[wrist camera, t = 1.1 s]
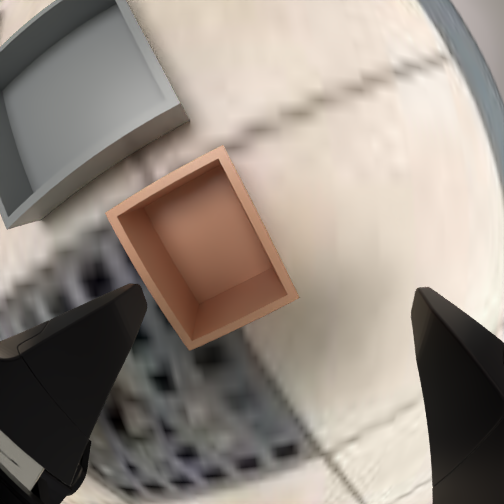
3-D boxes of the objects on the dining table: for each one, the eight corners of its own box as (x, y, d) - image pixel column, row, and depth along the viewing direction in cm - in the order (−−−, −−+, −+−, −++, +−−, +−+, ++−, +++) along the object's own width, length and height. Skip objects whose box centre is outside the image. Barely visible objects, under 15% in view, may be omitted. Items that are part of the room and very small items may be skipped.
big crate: (43, 219, 19) (7, 229, 14) (0, 91, 16) (-32, 81, 11) (190, 121, 19) (180, 103, 14) (125, -2, 15) (108, -33, 10)
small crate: (196, 309, 22) (189, 350, 16) (136, 204, 20) (105, 213, 14) (279, 267, 22) (299, 297, 16) (223, 156, 20) (222, 145, 14)
